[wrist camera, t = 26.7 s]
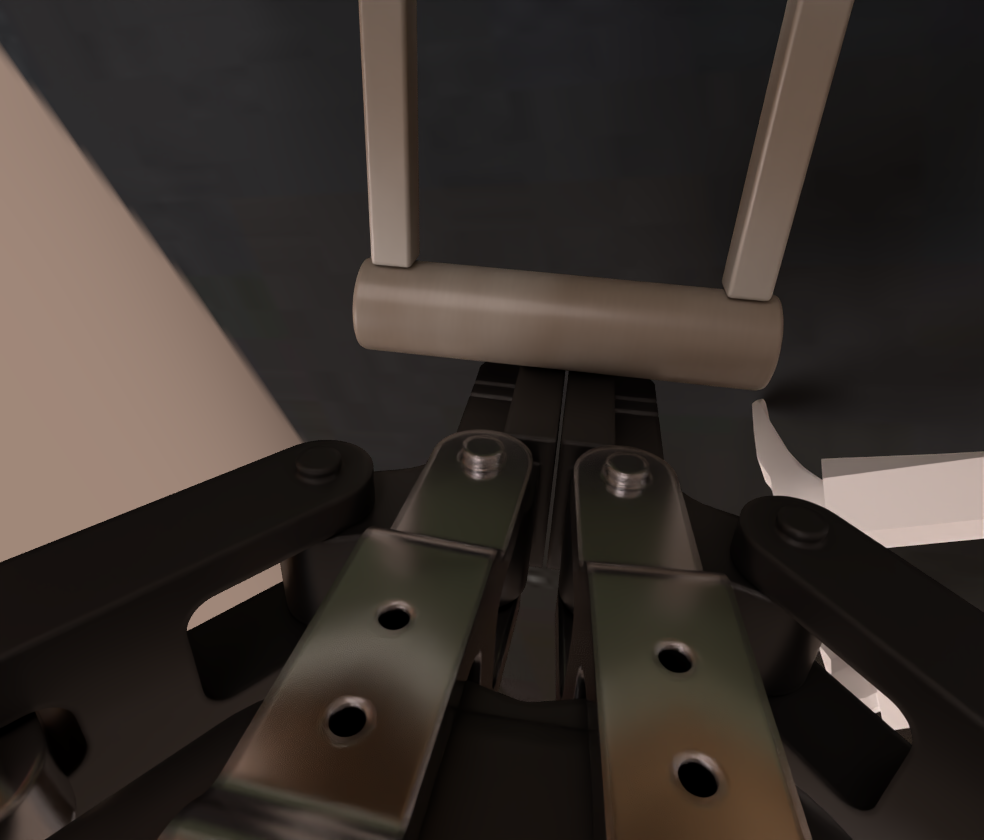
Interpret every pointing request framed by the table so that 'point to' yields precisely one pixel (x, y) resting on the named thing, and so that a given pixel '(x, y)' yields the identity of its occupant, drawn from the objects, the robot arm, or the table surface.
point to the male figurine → (881, 511)
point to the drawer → (581, 299)
